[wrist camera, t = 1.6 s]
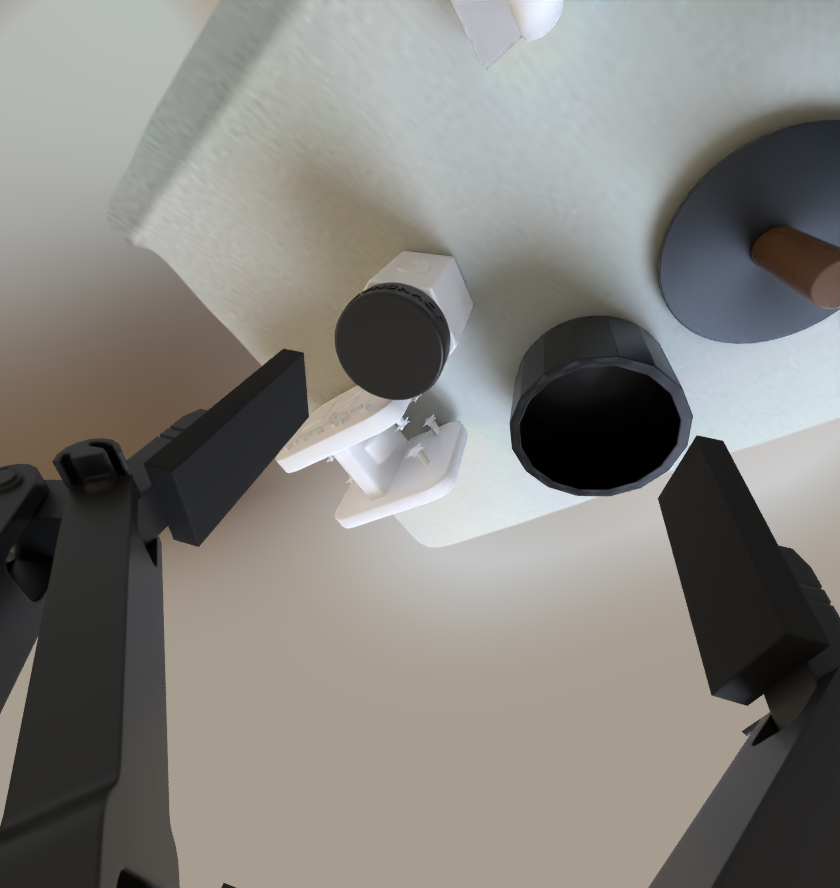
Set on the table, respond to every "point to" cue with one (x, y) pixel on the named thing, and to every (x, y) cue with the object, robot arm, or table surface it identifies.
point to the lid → (759, 239)
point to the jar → (404, 325)
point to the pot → (598, 408)
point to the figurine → (505, 23)
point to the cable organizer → (377, 454)
